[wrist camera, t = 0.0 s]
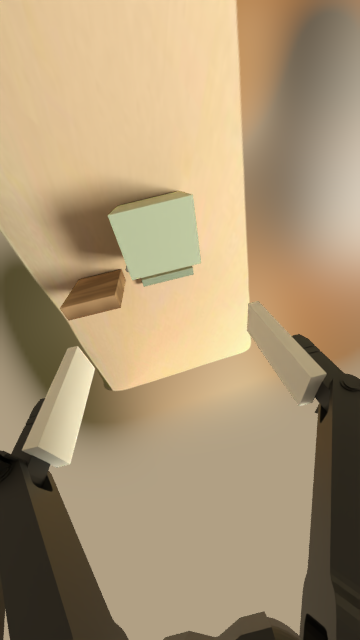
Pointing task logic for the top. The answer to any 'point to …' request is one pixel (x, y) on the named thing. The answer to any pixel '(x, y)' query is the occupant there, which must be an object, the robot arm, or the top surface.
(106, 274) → the brown boxy piece
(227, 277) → the top surface
